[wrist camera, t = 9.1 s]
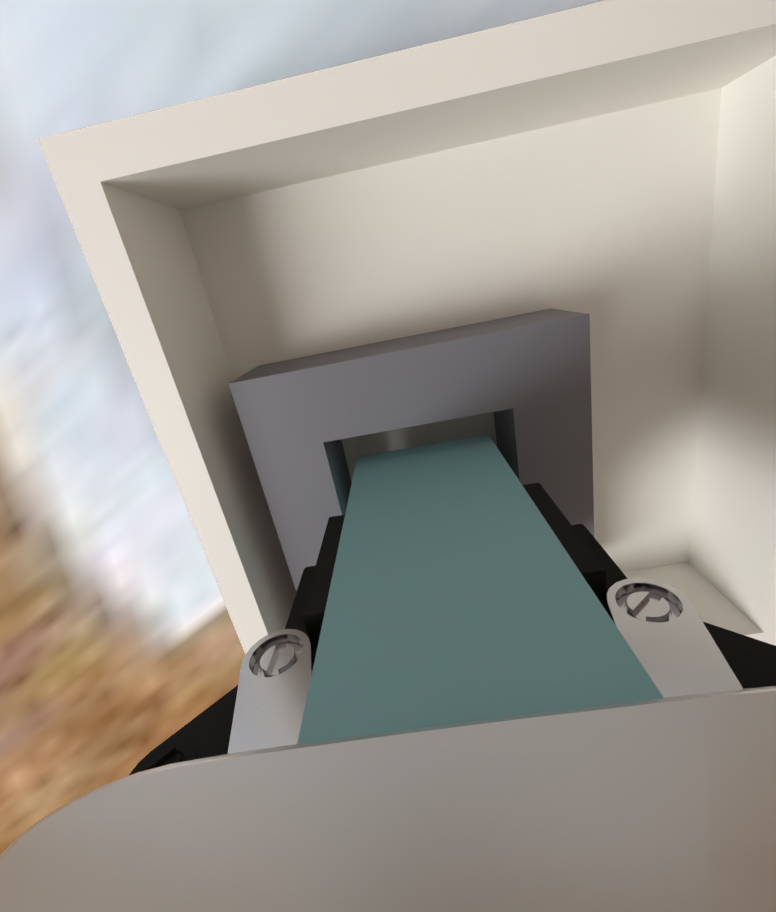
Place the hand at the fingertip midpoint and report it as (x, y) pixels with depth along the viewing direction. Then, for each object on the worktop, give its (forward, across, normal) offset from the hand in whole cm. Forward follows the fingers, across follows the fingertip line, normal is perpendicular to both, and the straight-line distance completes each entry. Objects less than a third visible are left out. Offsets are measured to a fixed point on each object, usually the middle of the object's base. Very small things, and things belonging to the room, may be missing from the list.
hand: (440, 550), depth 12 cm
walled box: (+6, -2, -2) cm, 6 cm away
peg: (+3, 0, 0) cm, 3 cm away
